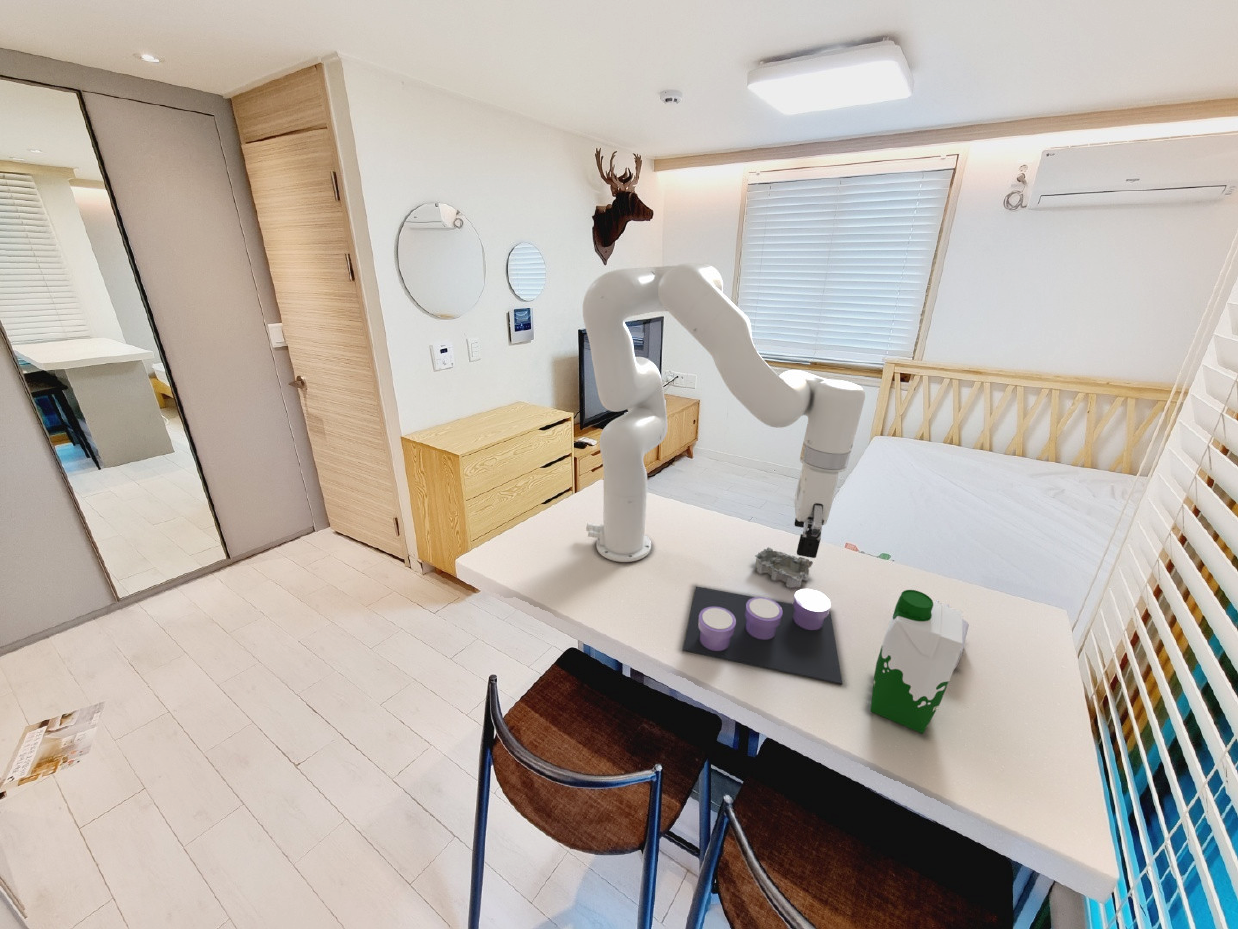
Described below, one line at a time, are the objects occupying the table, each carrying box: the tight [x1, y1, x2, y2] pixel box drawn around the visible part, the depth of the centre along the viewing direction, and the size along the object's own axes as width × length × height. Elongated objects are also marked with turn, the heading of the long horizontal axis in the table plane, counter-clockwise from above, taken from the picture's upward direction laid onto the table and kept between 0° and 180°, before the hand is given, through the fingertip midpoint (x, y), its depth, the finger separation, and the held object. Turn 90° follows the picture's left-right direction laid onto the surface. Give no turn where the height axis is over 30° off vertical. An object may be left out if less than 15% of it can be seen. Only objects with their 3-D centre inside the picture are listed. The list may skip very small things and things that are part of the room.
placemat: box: [682, 586, 843, 685], centre depth 92 cm, size 26×18×1 cm
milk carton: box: [870, 589, 963, 735], centre depth 74 cm, size 9×9×20 cm
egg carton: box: [754, 546, 814, 589], centre depth 107 cm, size 11×8×4 cm
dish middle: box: [745, 596, 783, 640], centre depth 91 cm, size 6×6×5 cm
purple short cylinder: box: [698, 607, 736, 651], centre depth 89 cm, size 6×6×5 cm
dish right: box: [792, 588, 832, 630], centre depth 94 cm, size 6×6×5 cm
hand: (804, 540), depth 91 cm, fingers open, 9 cm apart
